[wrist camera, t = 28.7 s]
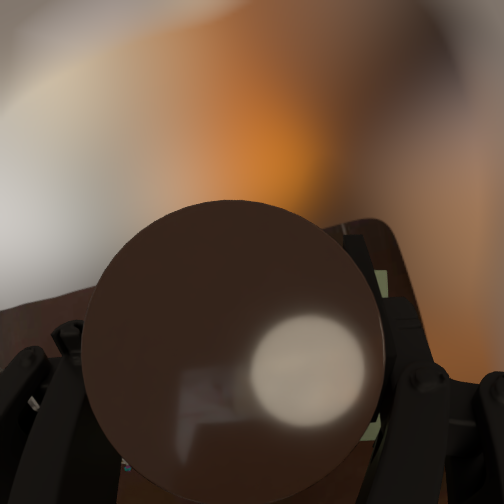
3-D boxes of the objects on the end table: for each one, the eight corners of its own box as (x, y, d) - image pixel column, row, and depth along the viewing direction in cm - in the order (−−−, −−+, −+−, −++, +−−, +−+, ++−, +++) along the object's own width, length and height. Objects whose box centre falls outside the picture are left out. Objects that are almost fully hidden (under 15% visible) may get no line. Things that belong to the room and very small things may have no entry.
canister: (342, 293, 14) (378, 194, 5) (337, 421, 12) (368, 515, 4) (217, 292, 15) (103, 208, 7) (209, 413, 13) (77, 463, 5)
